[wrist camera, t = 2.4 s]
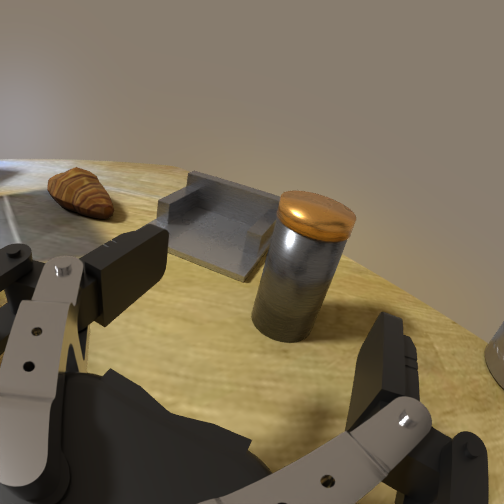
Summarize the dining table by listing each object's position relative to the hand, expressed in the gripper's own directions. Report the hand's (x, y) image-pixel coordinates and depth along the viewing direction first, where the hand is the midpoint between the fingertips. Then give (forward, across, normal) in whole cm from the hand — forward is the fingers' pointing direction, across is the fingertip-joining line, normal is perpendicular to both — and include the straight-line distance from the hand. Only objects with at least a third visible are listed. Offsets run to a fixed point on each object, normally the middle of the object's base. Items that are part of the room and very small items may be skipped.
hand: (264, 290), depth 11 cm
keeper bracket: (+21, +11, +10) cm, 26 cm away
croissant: (+17, +28, +11) cm, 34 cm away
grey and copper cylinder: (+12, 0, +10) cm, 15 cm away
